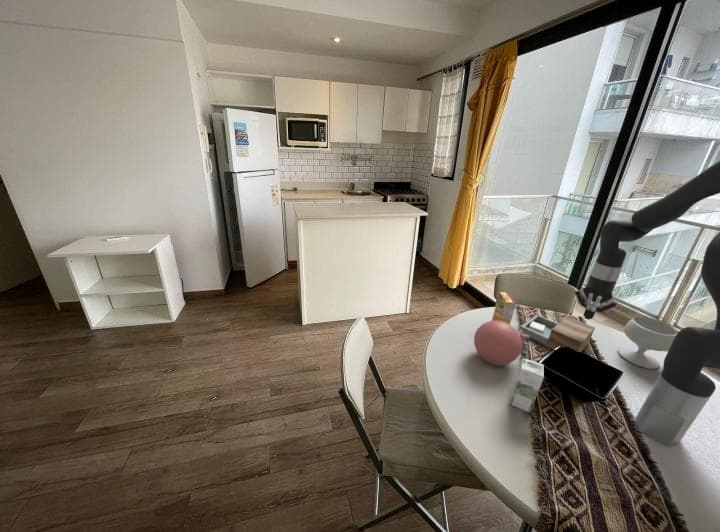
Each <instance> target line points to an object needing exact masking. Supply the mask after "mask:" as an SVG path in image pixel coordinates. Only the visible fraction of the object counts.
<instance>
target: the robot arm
mask: <svg viewBox="0 0 720 532" xmlns="http://www.w3.org/2000/svg"><path fill="white" fill-rule="evenodd" d="M718 194H720V160H718V161H716V162H715V163H714V164H712V165H711V166H709V167H707V168H706V169H705V170H704V171H702V172H700V173H699V174H697V175H695V176H694V177H693V178H691V179H690V180H689V181H687V182H686V183H684V184H683V185H681V186H680V187H678V188H677V189H675V190H673V191H672V192H671V193H669V194H668V195H665V196H664V197H662V198H660V199H658V200H656V201H654V202H652V203H650V204H648V205H646V206H645V207H642V208H640V209H638V210H637V211H635V212H634V213H633V214H632V215H631V219H630V220H622V219H621V220H620V219H614V220H613V219H611V220H609V221H607V222H606V223H604V225H603V226H602V228H601V231H600V236H599V237H600V239H599V241H600V242H599V253H598V256H597V258H596V261H595V263H594V264H593V267H592V270H591V272H590V274H589V277H588V280H587V283H586V286H585V287H583V289H577V290H575V292H574V294H575V296H576V298H577V300H578V302H579V304H580V307H583V308H584V309H585V310H584V313H583V317H584V319H586V320H588V321H590V320H592V319H593V318H594V317H595V315H596V312H598V313H602V312H605V311H607V310H610V309H612V308H614V307H617V306H618V301H616V300H615V299H614V298H613V292H614V289H615V287H616V285H617V282H618V279H619V278H620V274H621V271H622V267H623V264H624V262H625V260H626V258H627V251H626V250H624V249H623V248H620V245H619V244H620V242H627V243H629V242H635V241H637V240H640V239H642V238H644V236H646V235H648V234H649V233H650V232H652V231H653V230H655V229H657V228H660V227H663V226H665V225H668V224H669V223H671V222H674V221H676V220H677V219H679V218H681V217H682V216H684V215H685V214H686V213H687V212H688V211H689V209H690V208H692V207H693V206H694V205H696V204H697V203H699V202H700V201H702V200H704V199H705V200H706V199H707V198H710V197H712V196H715V195H718ZM702 260H703V261H702V265H701V270H700V272H701V273H700V275H701V278H702V281H703V284H704V286H705V288H706V289H707V292H708V293H709V295H710V297H711V298H712V300H713V302H714V305H715V307H716V320H715V324H714V325H715V327H714V329H712V328H704V327H697V326H686V327H684V328H682V329H680V330H679V331H678V332H677V335H676V336H675V338H674V340H673V342H672V344H671V346H670V348H669V350H668V351H667V353H666V355H665V358H664V360H663V368H662V371H661V373H660V374H659V376H658V377H657V379H656V381H655V382H654V384H653V386H652V388H651V390H650V392H649V393H648V395H647V396H646V399H645V400H644V401H643V404H642V405H641V407H640V410H639V411H638V412H637V415H636V416H635V418H634V422H635V424H636V426H637V427H638V431H639V432H640V433H642V434H644V435H645V436H647V437H649V438H651V439H653V440H654V441H656V442H658V443H659V444H662V446H663V445H664V446H665V447H667V448H670V447H671V446H677V445H679V444H680V442H681V441H682V439H683V438H684V436H685V435H686V434H687V432H688V430H689V429H690V428H691V426H692V425H693V423H694V422H695V420H696V419H697V417H698V416H699V414H700V413H701V412H702V410H703V408H704V407H705V405H706V404H707V403H708V401H709V400H710V398H711V396H712V395H713V394H714V393H715V390H716V384H715V382H714V381H713V380H712V379H711V378H710V377H709V376H707V375H706V374H704V373H703V372H702V370H703V368H705V367H706V368H711V369H717V370H720V231H718V233H717V234H716V235H715V236H714V237H713V238H712V239H711V241H710V242H709V243H708V245H707V246H706V249H705V252H704V256H703V259H702ZM584 296H585V297H584ZM585 298H586V299H587V301H586V299H585ZM606 302H607V304H605V305H603V306H600V305H601V304H604V303H606ZM599 306H600V307H599Z"/></svg>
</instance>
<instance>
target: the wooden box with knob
mask: <svg viewBox="0 0 720 532" xmlns="http://www.w3.org/2000/svg"><path fill="white" fill-rule="evenodd" d="M557 323H558V324H557V325H556V326H555V327H554V328H553V329H552V330H551V333H550V336H549V339H548V341H547V344H546V346H545V347H547V348H549V349H551V350H554V349H555V348H557V347H559V346H562V347H563V348H564V347H569V348H571V349H573V350H575V351H577V352H581V353H582V352H584V350H585V349H586V348H587V346H588V345H589V342H590V341H591V338H592V336H593V333H594V331H595V329H596V327H594V326H593V325H590V324H587V323H584V322H582V321H579V320H577V319H574V318H572V317H569V316H565V317H564V318H563V319H561V321H559V322H557ZM554 351H555V350H554Z"/></svg>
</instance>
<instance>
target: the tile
mask: <svg viewBox="0 0 720 532" xmlns="http://www.w3.org/2000/svg"><path fill="white" fill-rule="evenodd" d="M529 329H531V330H533V331H535V332H538V333H540V334H542V333H543V331H544V329H545V326H544V325H542V324H539V323H536V322H533V321H532V323H531V324H530V326H529Z"/></svg>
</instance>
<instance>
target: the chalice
mask: <svg viewBox="0 0 720 532" xmlns="http://www.w3.org/2000/svg"><path fill="white" fill-rule="evenodd" d="M623 331H624V335H625V336H626V337H627V338H628V339H629V340H630V341H631V342H633V343H634V344H635V345H636V346H637V348H638V349H636V348H632V347H626V346H625V347H624V346H622V347H619V348H617V353H618V355H619V356H620V357H622V358H623V359H624V360H626V361H627V362H629V363H631V364H633V365H636V366H638V367H641V368H645V369H649V370H655V369H656V370H657V369H659V368H660V367H661V366H660V363H659V361H658V360H657V359H655V357H653V356H652V355H650V354H649V353H647V351H655V352H668V351H669V348H670V346H671V344H672V342H673V340H674V338H675V336H676V335H677V333H678V332H677V330H676V329H675V328H674V327H672V326H671V325H669V324H667V323H665V322H662V321H660V320H657V319H654V318H650V317H646V316H645V317H644V316H635V317H633V318H631V319H630V320H629V321H627V323H626V324H625V326H624V329H623Z"/></svg>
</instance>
